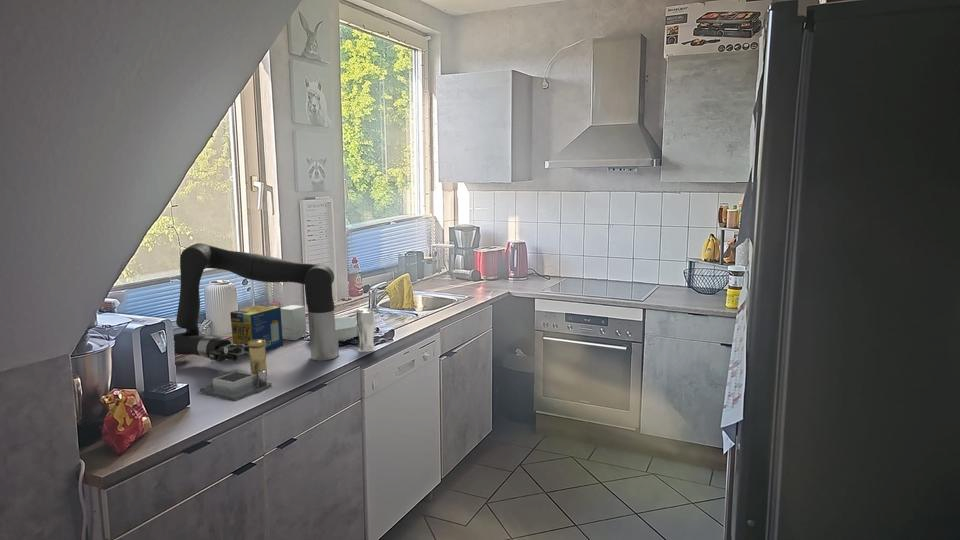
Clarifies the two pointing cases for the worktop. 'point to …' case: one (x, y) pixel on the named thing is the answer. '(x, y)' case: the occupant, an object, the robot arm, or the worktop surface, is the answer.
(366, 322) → the beer glass
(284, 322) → the supplement box
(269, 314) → the protein box
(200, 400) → the worktop surface
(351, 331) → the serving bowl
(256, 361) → the gold metal cylinder
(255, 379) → the socket plate
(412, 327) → the worktop surface
